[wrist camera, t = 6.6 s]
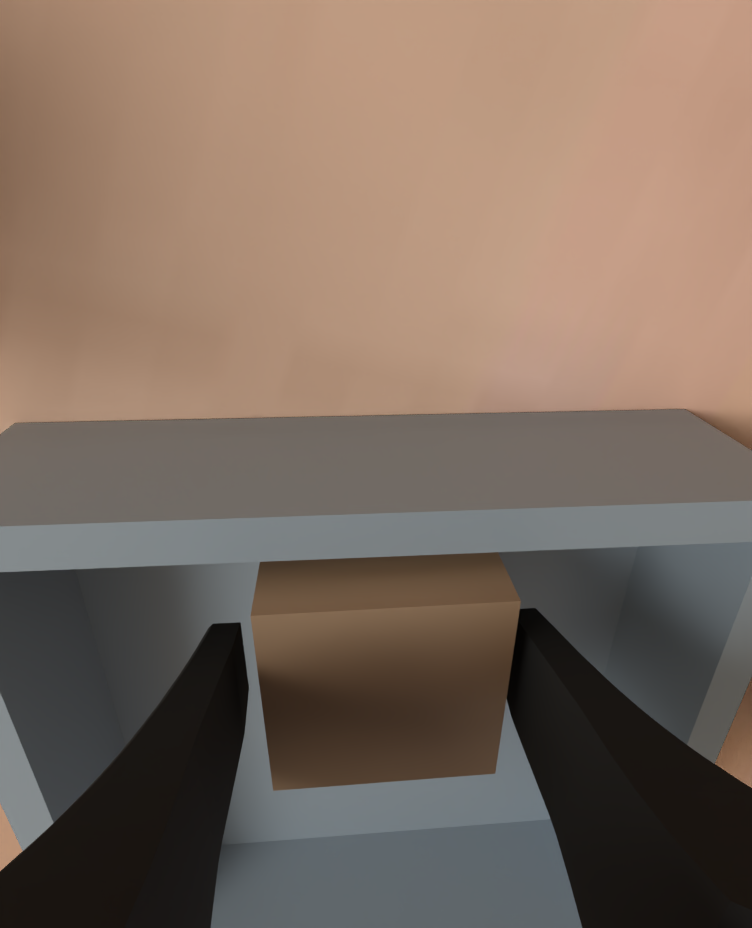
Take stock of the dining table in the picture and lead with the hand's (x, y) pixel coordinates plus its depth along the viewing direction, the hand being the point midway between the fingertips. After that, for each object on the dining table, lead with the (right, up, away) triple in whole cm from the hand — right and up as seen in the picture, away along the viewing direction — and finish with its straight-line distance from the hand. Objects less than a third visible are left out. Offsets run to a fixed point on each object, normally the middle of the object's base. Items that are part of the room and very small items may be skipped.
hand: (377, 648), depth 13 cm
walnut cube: (0, +2, +3) cm, 3 cm away
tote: (0, -3, +6) cm, 7 cm away
